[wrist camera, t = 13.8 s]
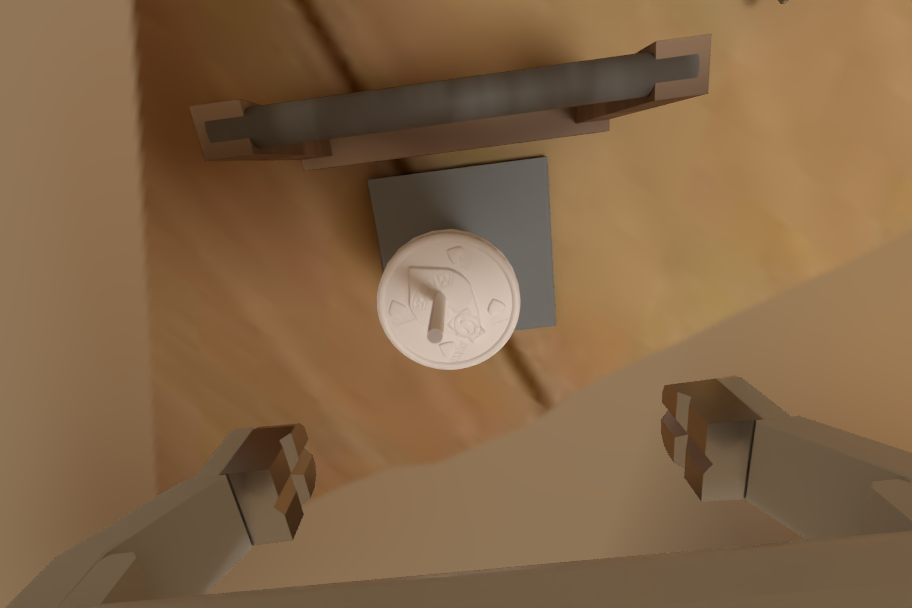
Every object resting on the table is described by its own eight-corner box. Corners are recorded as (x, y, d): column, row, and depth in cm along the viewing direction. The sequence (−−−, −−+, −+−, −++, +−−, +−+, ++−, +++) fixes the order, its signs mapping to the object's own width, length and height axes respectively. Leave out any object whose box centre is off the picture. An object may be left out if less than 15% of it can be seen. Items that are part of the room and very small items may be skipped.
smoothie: (453, 185, 26) (449, 212, 13) (521, 259, 28) (579, 351, 15) (381, 255, 28) (313, 343, 15) (449, 322, 29) (443, 458, 16)
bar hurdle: (298, 117, 26) (178, 87, 15) (602, 76, 25) (717, 10, 14) (310, 170, 27) (205, 178, 16) (602, 131, 26) (711, 111, 15)
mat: (368, 179, 27) (367, 179, 26) (545, 156, 26) (547, 156, 26) (397, 340, 30) (397, 343, 30) (554, 323, 30) (556, 325, 29)
